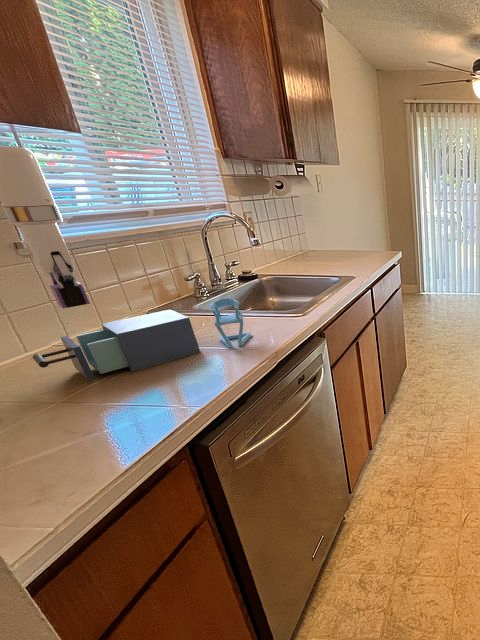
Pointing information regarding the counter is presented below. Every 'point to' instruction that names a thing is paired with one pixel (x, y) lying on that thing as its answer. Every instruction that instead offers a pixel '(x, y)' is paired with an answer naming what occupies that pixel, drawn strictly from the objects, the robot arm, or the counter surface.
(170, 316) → the grey drawer box
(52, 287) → the purple cube
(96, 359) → the teal drawer
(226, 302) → the chair
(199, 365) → the counter surface
